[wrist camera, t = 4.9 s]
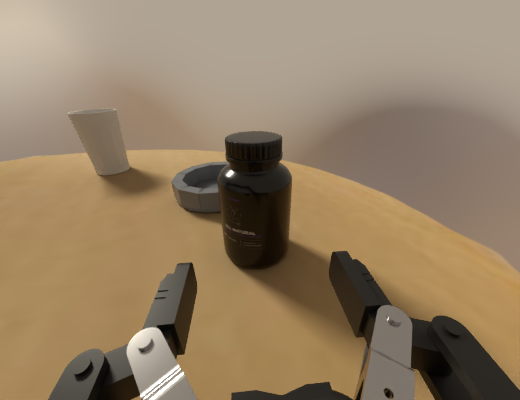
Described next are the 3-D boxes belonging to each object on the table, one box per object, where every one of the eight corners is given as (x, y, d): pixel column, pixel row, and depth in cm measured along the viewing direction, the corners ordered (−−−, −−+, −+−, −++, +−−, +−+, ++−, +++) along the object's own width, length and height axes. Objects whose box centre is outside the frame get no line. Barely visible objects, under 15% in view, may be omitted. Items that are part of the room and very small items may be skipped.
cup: (141, 164, 52) (125, 108, 46) (117, 177, 45) (95, 113, 39) (110, 163, 53) (90, 109, 47) (82, 176, 46) (55, 114, 40)
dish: (231, 220, 29) (228, 200, 28) (158, 203, 34) (153, 184, 33) (269, 183, 40) (269, 166, 38) (209, 173, 45) (207, 158, 43)
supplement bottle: (226, 276, 21) (208, 149, 15) (225, 233, 27) (211, 130, 21) (297, 266, 22) (305, 142, 16) (280, 227, 28) (282, 126, 22)
